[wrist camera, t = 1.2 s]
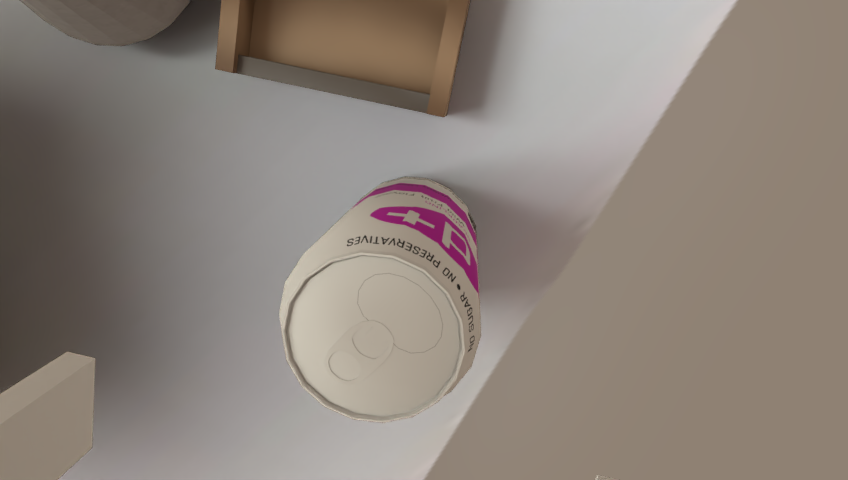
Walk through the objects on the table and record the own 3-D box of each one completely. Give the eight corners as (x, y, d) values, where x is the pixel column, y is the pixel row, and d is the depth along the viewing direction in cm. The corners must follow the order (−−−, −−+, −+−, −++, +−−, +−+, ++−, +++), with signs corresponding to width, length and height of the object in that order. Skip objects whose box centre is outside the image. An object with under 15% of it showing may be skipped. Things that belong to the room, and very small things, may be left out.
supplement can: (410, 147, 33) (365, 189, 19) (503, 240, 34) (527, 346, 20) (324, 236, 35) (223, 336, 21) (415, 321, 36) (378, 472, 22)
